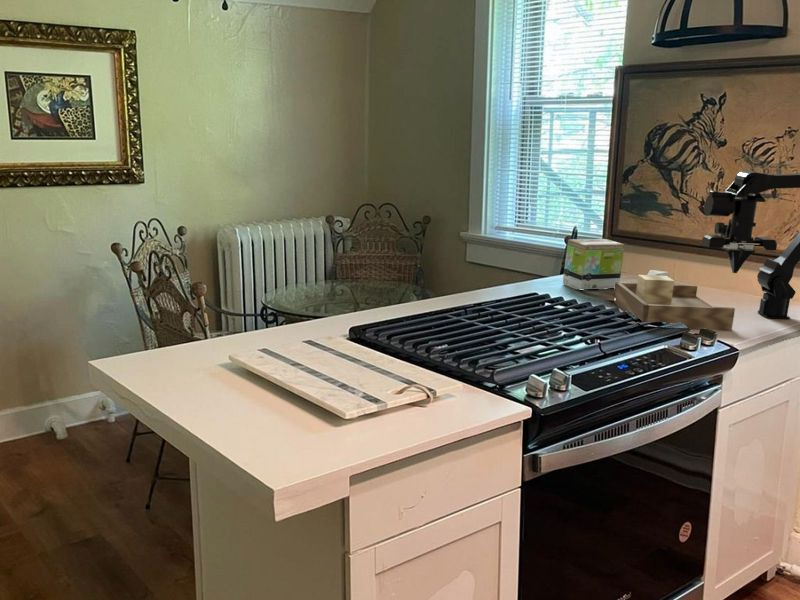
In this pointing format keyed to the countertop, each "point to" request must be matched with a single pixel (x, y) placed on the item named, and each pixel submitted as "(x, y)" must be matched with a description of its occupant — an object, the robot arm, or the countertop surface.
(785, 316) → the robot arm
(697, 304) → the trap box
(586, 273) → the tea box
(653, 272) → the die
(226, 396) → the countertop surface
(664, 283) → the maple block
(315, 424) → the countertop surface
